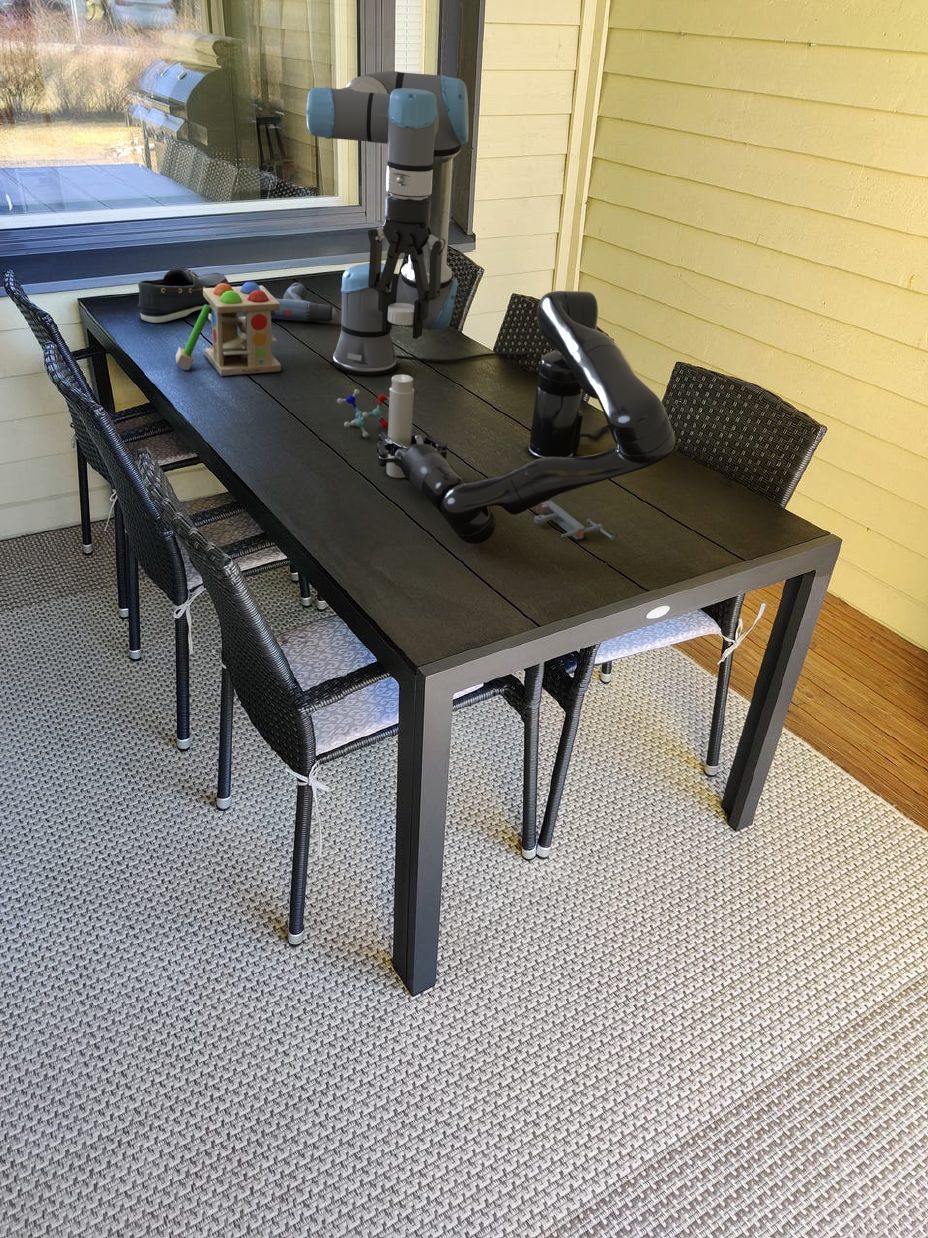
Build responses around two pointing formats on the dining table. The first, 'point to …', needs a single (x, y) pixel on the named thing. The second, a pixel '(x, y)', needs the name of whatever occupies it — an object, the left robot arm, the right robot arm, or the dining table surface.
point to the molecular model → (360, 415)
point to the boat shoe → (175, 294)
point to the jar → (400, 416)
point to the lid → (401, 313)
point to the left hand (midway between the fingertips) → (401, 332)
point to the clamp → (565, 521)
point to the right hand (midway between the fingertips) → (394, 434)
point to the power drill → (301, 307)
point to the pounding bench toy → (229, 347)
